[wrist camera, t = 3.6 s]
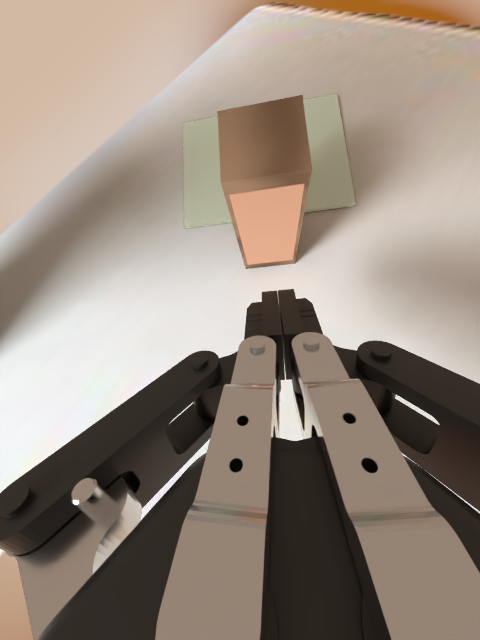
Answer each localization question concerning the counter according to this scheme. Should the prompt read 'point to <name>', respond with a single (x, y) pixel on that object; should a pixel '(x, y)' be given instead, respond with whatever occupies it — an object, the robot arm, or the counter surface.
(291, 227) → the walnut block
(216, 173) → the mat
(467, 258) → the counter surface
